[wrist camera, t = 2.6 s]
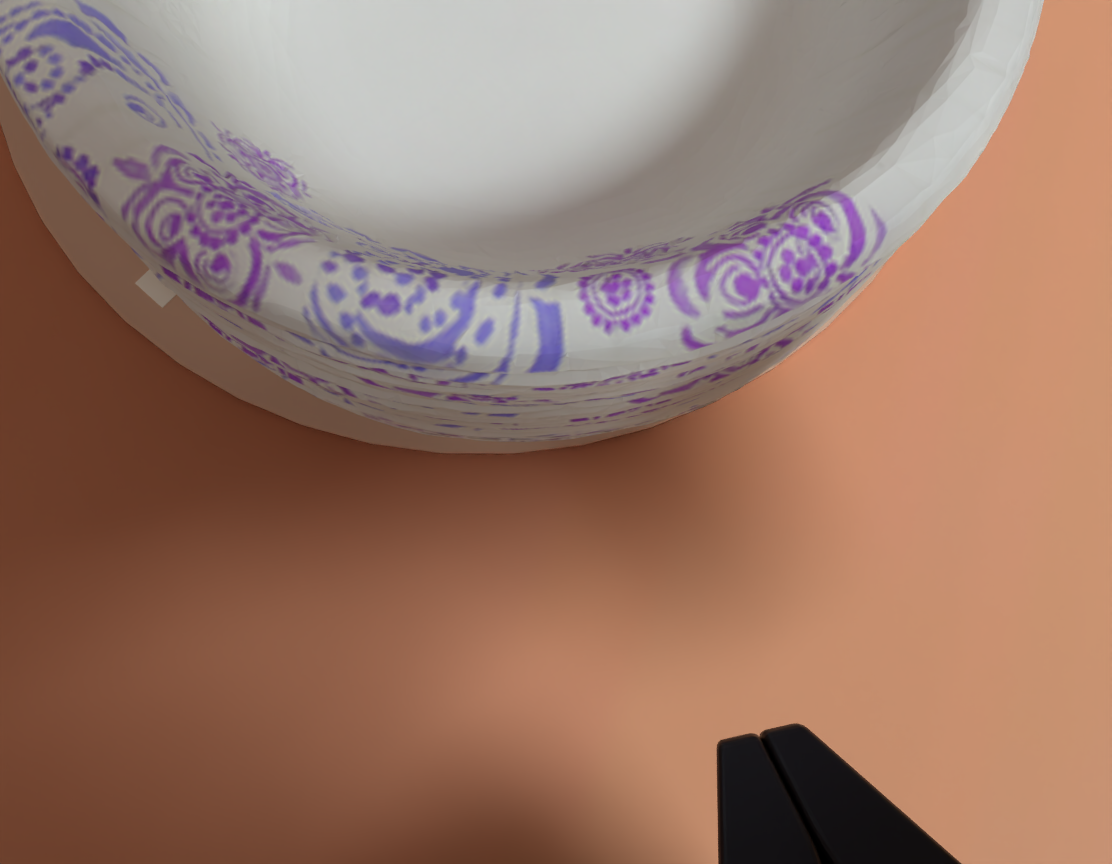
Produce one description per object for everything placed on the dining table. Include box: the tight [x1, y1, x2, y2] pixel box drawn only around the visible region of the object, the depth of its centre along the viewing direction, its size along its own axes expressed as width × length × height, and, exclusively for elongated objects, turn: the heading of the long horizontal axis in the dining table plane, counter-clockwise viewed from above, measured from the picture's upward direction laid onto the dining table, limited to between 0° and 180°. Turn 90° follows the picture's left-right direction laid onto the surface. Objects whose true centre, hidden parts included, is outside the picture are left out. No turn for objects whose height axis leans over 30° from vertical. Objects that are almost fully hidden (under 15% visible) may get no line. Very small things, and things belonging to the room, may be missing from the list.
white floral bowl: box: [0, 0, 1044, 442], centre depth 17 cm, size 15×15×8 cm
